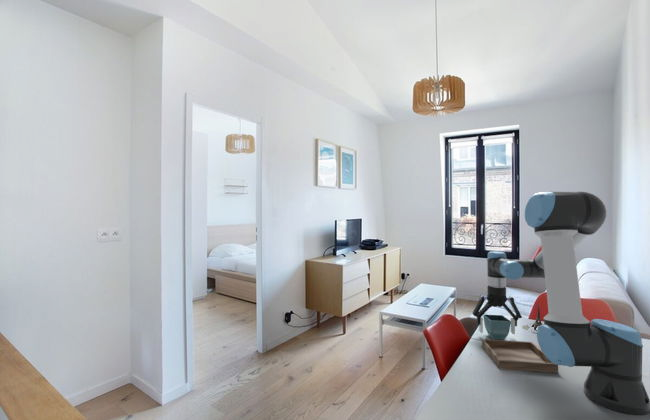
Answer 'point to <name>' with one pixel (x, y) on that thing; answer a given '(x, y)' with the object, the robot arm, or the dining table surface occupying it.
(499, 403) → the dining table surface
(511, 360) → the box
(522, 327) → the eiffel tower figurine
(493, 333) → the flower pot
